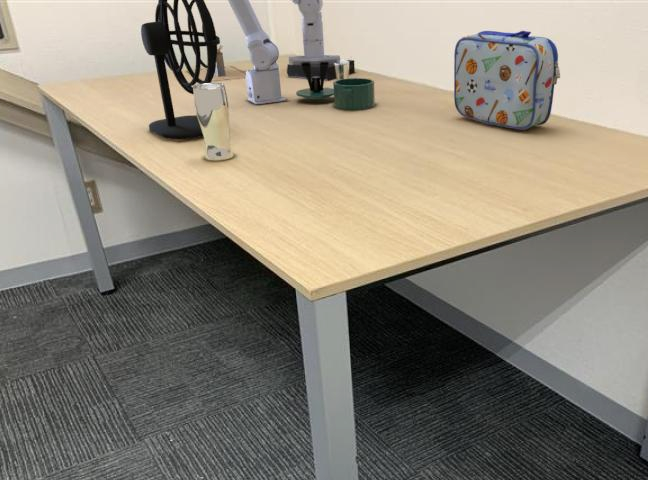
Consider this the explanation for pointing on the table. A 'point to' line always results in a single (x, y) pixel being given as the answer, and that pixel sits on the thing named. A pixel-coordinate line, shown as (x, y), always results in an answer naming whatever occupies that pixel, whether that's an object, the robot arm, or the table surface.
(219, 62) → the architectural model on board
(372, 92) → the tin
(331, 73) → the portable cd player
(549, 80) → the lunch box
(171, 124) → the desk fan
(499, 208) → the table surface
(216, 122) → the beer glass
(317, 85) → the lid
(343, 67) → the milkshake
